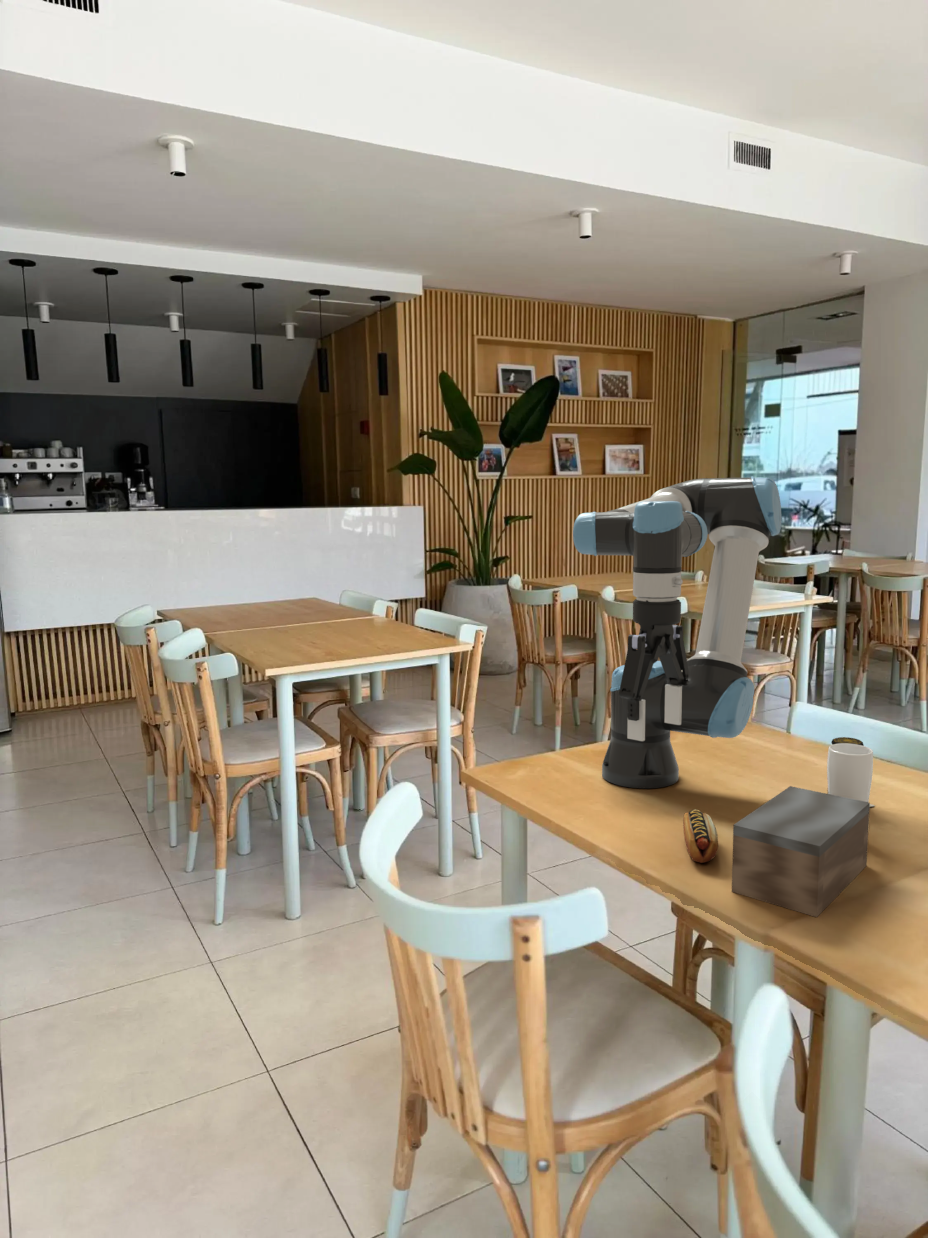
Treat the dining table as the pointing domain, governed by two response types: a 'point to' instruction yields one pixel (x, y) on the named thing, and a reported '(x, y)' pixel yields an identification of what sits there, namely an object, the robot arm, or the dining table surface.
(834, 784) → the white tapered cylinder
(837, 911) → the dining table surface
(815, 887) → the gray-topped wooden box
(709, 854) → the hot dog
